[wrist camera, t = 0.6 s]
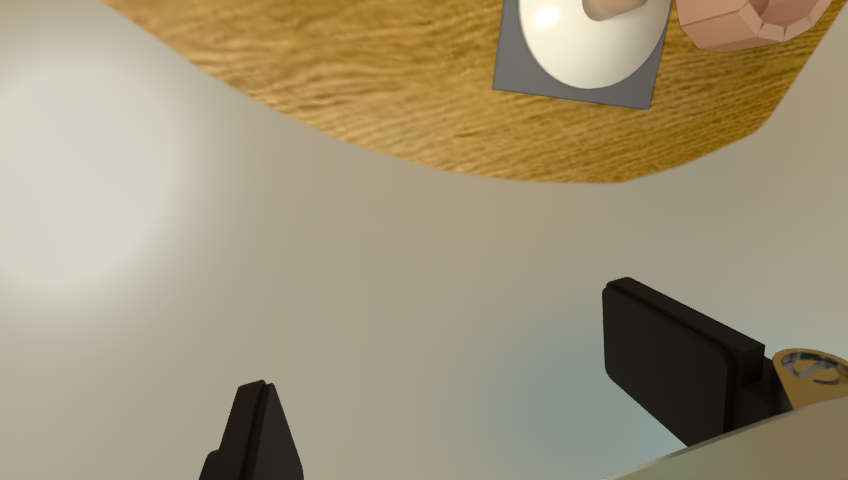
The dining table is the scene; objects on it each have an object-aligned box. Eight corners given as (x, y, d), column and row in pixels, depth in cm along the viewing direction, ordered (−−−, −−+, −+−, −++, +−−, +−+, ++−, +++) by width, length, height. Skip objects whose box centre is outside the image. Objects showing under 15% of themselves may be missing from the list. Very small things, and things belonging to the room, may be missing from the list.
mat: (519, -128, 34) (523, -133, 33) (685, -82, 38) (691, -85, 38) (491, 89, 38) (494, 88, 38) (644, 109, 42) (648, 109, 42)
